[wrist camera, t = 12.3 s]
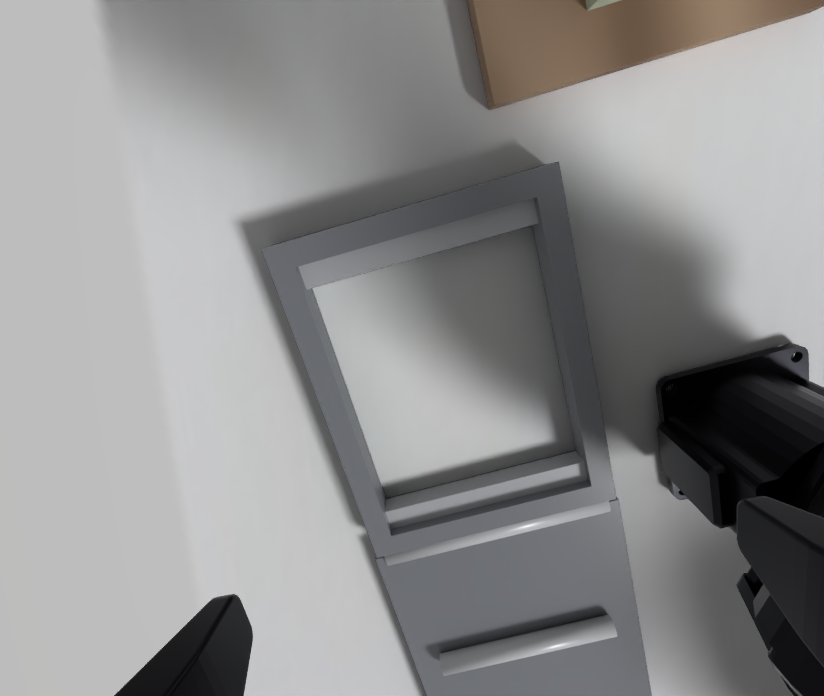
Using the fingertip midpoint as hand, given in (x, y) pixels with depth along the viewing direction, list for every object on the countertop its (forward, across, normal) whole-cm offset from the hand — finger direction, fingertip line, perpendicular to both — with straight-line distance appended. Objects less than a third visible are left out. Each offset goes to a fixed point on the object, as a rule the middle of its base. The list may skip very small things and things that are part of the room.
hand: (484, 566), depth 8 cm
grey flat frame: (+13, -1, +9) cm, 16 cm away
